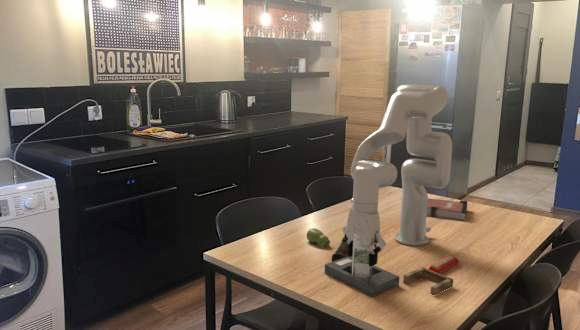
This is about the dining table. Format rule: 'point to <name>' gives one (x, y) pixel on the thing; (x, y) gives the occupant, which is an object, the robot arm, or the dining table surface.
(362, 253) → the syrup box
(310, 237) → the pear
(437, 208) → the book
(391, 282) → the grey rectangular frame
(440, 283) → the cradle
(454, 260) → the candy bar
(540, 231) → the dining table surface
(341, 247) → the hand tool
